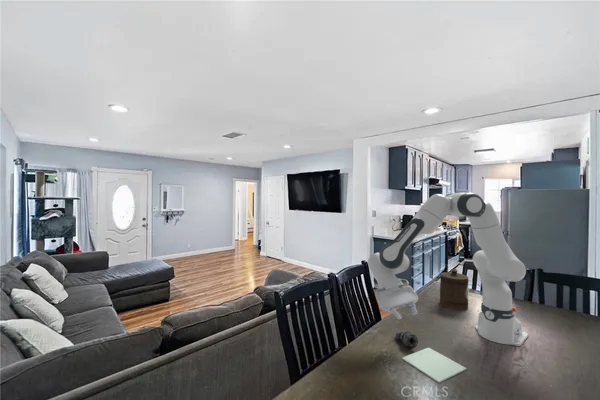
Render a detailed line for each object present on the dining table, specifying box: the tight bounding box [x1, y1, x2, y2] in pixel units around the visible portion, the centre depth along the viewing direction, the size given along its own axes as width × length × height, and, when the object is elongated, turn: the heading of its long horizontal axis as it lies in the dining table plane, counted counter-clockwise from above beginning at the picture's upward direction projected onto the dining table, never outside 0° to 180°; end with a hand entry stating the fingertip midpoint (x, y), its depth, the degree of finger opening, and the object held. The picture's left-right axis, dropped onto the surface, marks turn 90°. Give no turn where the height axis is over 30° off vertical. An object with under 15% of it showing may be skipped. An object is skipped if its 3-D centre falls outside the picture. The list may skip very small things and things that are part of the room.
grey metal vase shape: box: [395, 331, 419, 349], centre depth 121 cm, size 6×6×12 cm
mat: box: [401, 347, 467, 384], centre depth 105 cm, size 16×16×1 cm
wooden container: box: [439, 268, 469, 311], centre depth 163 cm, size 15×15×22 cm
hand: (408, 316), depth 114 cm, fingers open, 8 cm apart
